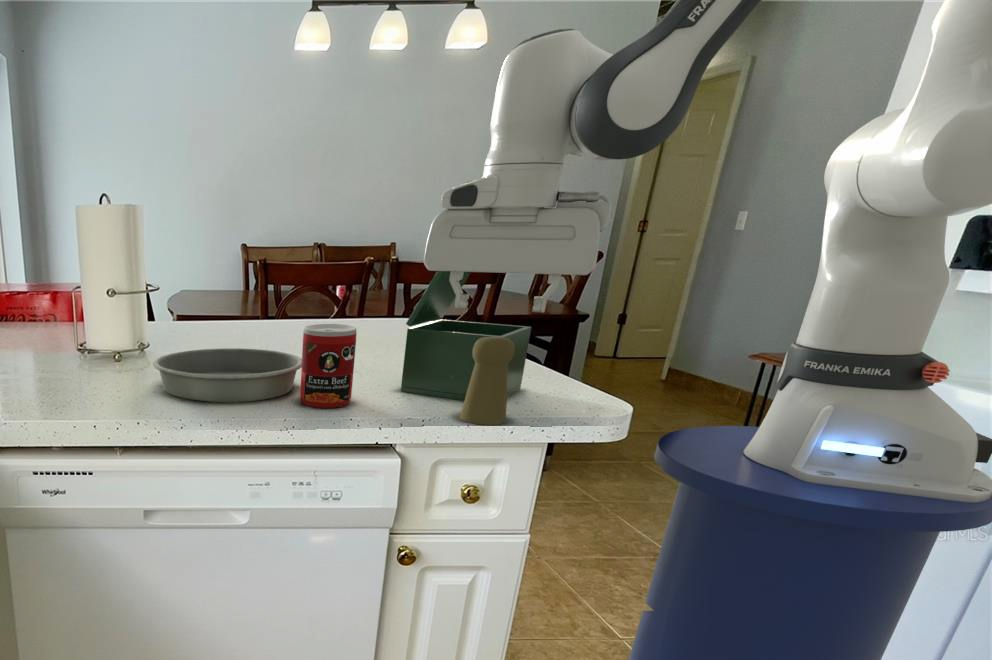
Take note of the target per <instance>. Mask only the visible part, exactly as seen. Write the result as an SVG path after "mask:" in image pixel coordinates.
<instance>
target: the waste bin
mask: <svg viewBox="0 0 992 660" xmlns="http://www.w3.org/2000/svg"><path fill="white" fill-rule="evenodd" d="M531 333H532V326H526V325H513V324H502V323H489V322H478V321H477V322H476V321H467V320H465V321H464V320H452V319H442V318H440V319H436V320H432V321H429V322H425V323H421V324H418V325H414V326H410V327H408V328H407V329H406V339H405V347H404V348H405V349H404V357H403V364H402V365H403V367H402V373H401V374H402V375H401V384H400V392H405V393H411V394H417V395H423V396H430V397H437V398H438V397H439V398H443V399H452V400H457V401H458V400H459V401H464V400H465V397H466V393H467V390H468V386H469V383H470V380H471V376H472V373H473V369H474V366H475V360H474V359H473V354H472V352H473V347H474V344H475V343H476V341H477V340H478V339H480V338H484V337H503V338H507V339H510V340H511V341H513V343H514V348H515V351H514V356H513V358H512V360H511V361H510V362H509V363H508V369H507V397H510V396H511V395H513V394H515V393H516V392H518V391H520V390H521V387H522V382H523V378H524V377H523V376H524V371H525V365H526V360H527V354H528V348H529V343H530V337H531Z"/></svg>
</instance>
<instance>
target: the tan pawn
mask: <svg viewBox="0 0 992 660" xmlns="http://www.w3.org/2000/svg"><path fill="white" fill-rule="evenodd" d="M514 351H515V348H514V343H513V341H511V340H510V339H507V338H503V337H484V338H480V339H478V340H477V341H476V343H475V344H474V347H473V352H472V354H473V359H474V360H475V366H474V369H473V373H472V376H471V380H470V383H469V386H468V390H467V393H466V397H465V400H463V405H462V408H461V412H460V415H459V419H460V420H461V421H464V422H465V423H470V424H475V425H485V426H486V425H487V426H494V425H501V424H505V423H507V401H508V400H507V399H508V396H507V369H508V363H509V362H510V361H511V360H512V358H513V356H514Z"/></svg>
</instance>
